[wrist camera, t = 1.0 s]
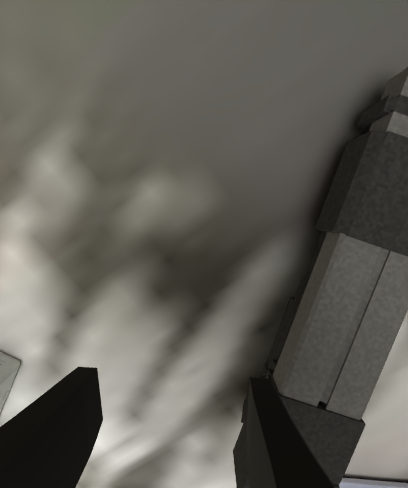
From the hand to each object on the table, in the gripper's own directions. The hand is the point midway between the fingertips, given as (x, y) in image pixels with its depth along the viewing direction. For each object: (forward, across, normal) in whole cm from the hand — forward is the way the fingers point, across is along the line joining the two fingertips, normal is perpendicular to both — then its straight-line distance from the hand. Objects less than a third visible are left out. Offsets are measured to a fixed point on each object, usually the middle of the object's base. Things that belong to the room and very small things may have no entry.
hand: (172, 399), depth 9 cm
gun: (+10, -7, 0) cm, 12 cm away
